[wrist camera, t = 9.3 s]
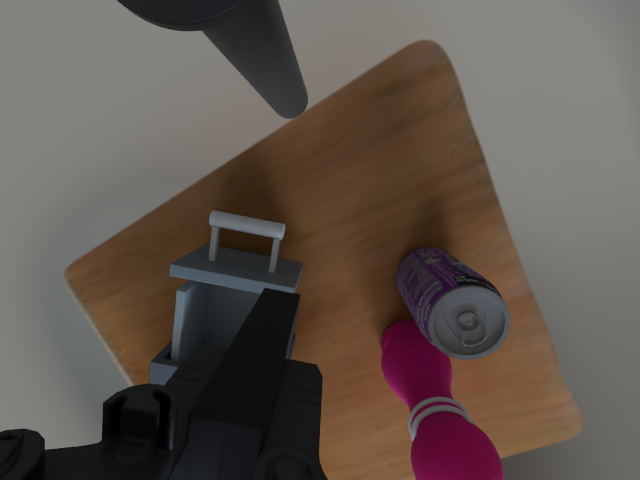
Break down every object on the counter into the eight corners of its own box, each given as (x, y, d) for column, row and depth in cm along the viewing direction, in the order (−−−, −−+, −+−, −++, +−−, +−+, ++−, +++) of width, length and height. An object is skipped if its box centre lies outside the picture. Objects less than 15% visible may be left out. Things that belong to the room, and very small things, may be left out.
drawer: (210, 201, 33) (174, 209, 25) (311, 220, 33) (304, 234, 25) (194, 346, 37) (159, 391, 30) (284, 364, 37) (272, 413, 30)
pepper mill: (368, 326, 37) (401, 496, 17) (425, 307, 36) (530, 465, 16) (388, 376, 38) (439, 587, 18) (444, 359, 37) (561, 563, 17)
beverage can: (464, 292, 35) (527, 349, 23) (406, 311, 36) (438, 376, 24) (446, 236, 34) (503, 267, 22) (386, 258, 35) (410, 298, 23)
